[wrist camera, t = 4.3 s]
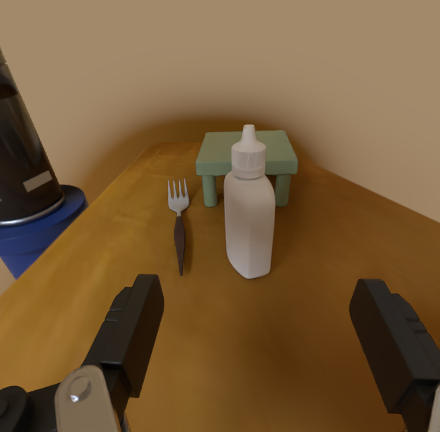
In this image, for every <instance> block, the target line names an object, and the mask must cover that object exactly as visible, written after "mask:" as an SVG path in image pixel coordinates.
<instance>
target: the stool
mask: <svg viewBox="0 0 440 432" xmlns="http://www.w3.org/2000/svg"><path fill="white" fill-rule="evenodd" d="M242 133H243V131H242V132H209V133H206V135H205V138H204V141H203V143H202V146H201V149H200V151H199V154H198V157H197V160H196V162H195V164H196V174H197V175H202V184H203V195H204V204H205V206H207V207H213V206H216V205H217V192H216V176H220V175H227V174H228V173H229V172H230V171H232V150H231V147H232V146H233V145H234V144H235V143H237V142H239V141H240V140H241V138H242ZM255 134H256V139H257V141H259V142H261V143H263V144H264V145H265V146H266V159H265V173H264V175H268V174H269V175H273V176H275V175H276V187H275V205H276V206H279V207H284V206H286V205H287V204H288V196H289V188H290V179H291V174H297V168H298V159H297V157H296V155H295V152H294V150H293V149H292V146H291V144H290V142H289V140H288V137H287V135H286V133H285V131H284V130H280V131H255Z"/></svg>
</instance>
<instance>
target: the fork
mask: <svg viewBox="0 0 440 432" xmlns="http://www.w3.org/2000/svg"><path fill="white" fill-rule="evenodd" d="M184 181H185V178H184ZM179 193H180V196H179V198H178V197H177V194H176V187H175V182H174V198H173V199H172V197H171V191H170V185H169V180H168V205H169V208H170V209H171V210H173V211H175V212H177V219H176V224H175V230H174V239H175V245H176V250H177V256H178V263H179V271H180V276H182V275H183V261H184V249H185V230H184V226H183V222H182V218H181V212H182V211H183V210H184V209H186V208H187V207H188V206H189V198H188V193H187V187H186V182H185V197H183V195H182V190H181V184H180V179H179Z"/></svg>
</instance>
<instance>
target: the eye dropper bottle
mask: <svg viewBox="0 0 440 432" xmlns="http://www.w3.org/2000/svg"><path fill="white" fill-rule="evenodd" d="M231 150H232V171H230V172H229V173H228V174H227V175H226V177H225V179H224V207H225V232H226V250H227V255H228V258H229V261H230V263H231V264H232V266H233V267H234V268H235V269H236V271H237V272H238V273H240V274H241V275H242V276H243V277H245V278H247V279H252V278H256V277H260V276H263V275H266V274H268V273H269V271H270V267H271V255H272V243H273V231H274V218H275V194H274V190H273V187H272V185H271V183H270V181H269V180H268V178H267V177H266V176H265V175H264V173H265V159H266V146H265V145H264V144H263V143H261V142H259V141H257V139H256V134H255V128H254V125H244V128H243V133H242V138H241V140H240V141H239V142H237V143H235V144H234V145H233V146H232V147H231Z"/></svg>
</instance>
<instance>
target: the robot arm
mask: <svg viewBox="0 0 440 432" xmlns="http://www.w3.org/2000/svg"><path fill="white" fill-rule="evenodd" d="M5 63H6V60H5V58H4V55H3V53H2V50H1V48H0V228H10V227H17V226H22V225H26V224H30V223H33V222H36V221H39V220H41V219H43V218H45V217H48V216H49V215H51V214H53V213H54V212H56V211H57V210H59V209H60V208H61V207H62V206H63V205H64V203H65V201H66V197H65V194H64V192H63V191H62V190H61V187H60V185H59V183H58V181H57V178H56V176H55V173H54V171H53V169H52V166H51V164H50V162H49V159H48V157H47V155H46V152H45V150H44V148H43V145H42V143H41V141H40V138H39V136H38V134H37V131H36V129H35V127H34V125H33V122H32V120H31V118H30V115H29V113H28V111H27V108H26V106H25V104H24V102H23V99H22V97H21V94H20V92H19V90H18V88H17V86H16V83H15V81H14V78H13V76H12V74H11V72H10V69H9V67H8V65H7V64H5ZM163 311H164V296H163V292H162V288H161V284H160V280H159V277H158V275H156V274H139V275H138V276H137V278H136V280H135V282H134V284H133V286H132V287H125V288H124V289H123V290H122V291H121V292H120V293H119V294H118V295H117V296H116V297H115V299H114V301H113V303H112V305H111V307H110V311H109V312H108V313H107V315H106V317H105V321H104V322H103V323H102V325H101V328H100V330H99V332H98V334H97V336H96V338H95V340H94V342H93V344H92V346H91V348H90V350H89V352H88V354H87V356H86V358H85V360H84V362H83V363H82V365H81V366H80V367H79V368H77V369H75V370H74V371H72V372H71V373H70V374H69V375H67V376H66V377H65V379H64V380H63V381H62V382H60V383H58V384H55V385H51V386H48V387H45V388H41V389H38V390H35V391H31V392H28V393H27V392H26V391H25V390H24V389H23V388H21V387H19V386H9V387H6V388H3V389H1V390H0V432H131V429H130V426H129V422H128V419H127V416H126V412H125V409H126V406H127V402H128V399H129V397H133V398H139V396H140V392H141V389H142V385H143V382H144V378H145V375H146V371H147V368H148V364H149V361H150V357H151V354H152V350H153V347H154V343H155V340H156V336H157V333H158V329H159V326H160V322H161V319H162V315H163ZM349 312H350V317H351V320H352V323H353V326H354V328H355V331H356V333H357V336H358V338H359V341H360V343H361V346H362V349H363V351H364V354H365V356H366V359H367V361H368V364H369V366H370V369H371V371H372V374H373V377H374V379H375V382H376V384H377V387H378V389H379V392H380V394H381V397H382V400H383V402H384V405H385V407H386V410H387V412H388V413H391V414H401V415H402V418H403V420H404V422H405V425H404V427H403V430H402V432H440V350H439V348H438V347H437V345H436V344H435V342H434V340H433V339H432V337H431V336H430V334H429V333H427V330H426V328H425V326H424V325H423V323H422V322H420V319H419V317H418V315H417V314H416V312H415V311H414V309H413V308H412V306H411V305H410V304H409V303H408V302H407V301H406V300H404V299H403V298H402V297H401V296H400V295H399V294H391V292H390V291H389V289H388V287H387V285H386V284H385V282H384V281H383V280H381V279H359V280H358V281H357V284H356V287H355V290H354V293H353V296H352V298H351V301H350V305H349Z"/></svg>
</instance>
